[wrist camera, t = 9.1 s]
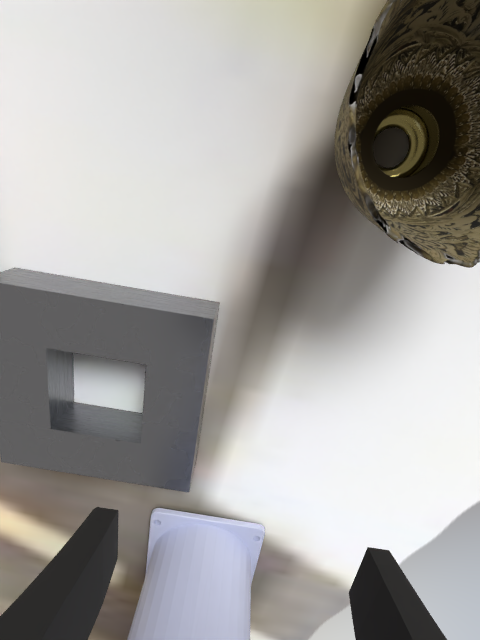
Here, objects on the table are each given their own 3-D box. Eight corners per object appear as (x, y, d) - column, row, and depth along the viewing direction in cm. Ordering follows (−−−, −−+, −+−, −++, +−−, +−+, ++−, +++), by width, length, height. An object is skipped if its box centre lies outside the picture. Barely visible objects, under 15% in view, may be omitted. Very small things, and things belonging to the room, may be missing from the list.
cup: (431, 250, 16) (576, 299, 9) (286, 212, 16) (311, 231, 9) (511, 72, 14) (813, -68, 6) (339, 23, 13) (441, -187, 6)
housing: (196, 460, 22) (189, 492, 20) (29, 432, 22) (1, 462, 19) (219, 302, 18) (213, 319, 16) (14, 267, 18) (-22, 279, 15)
